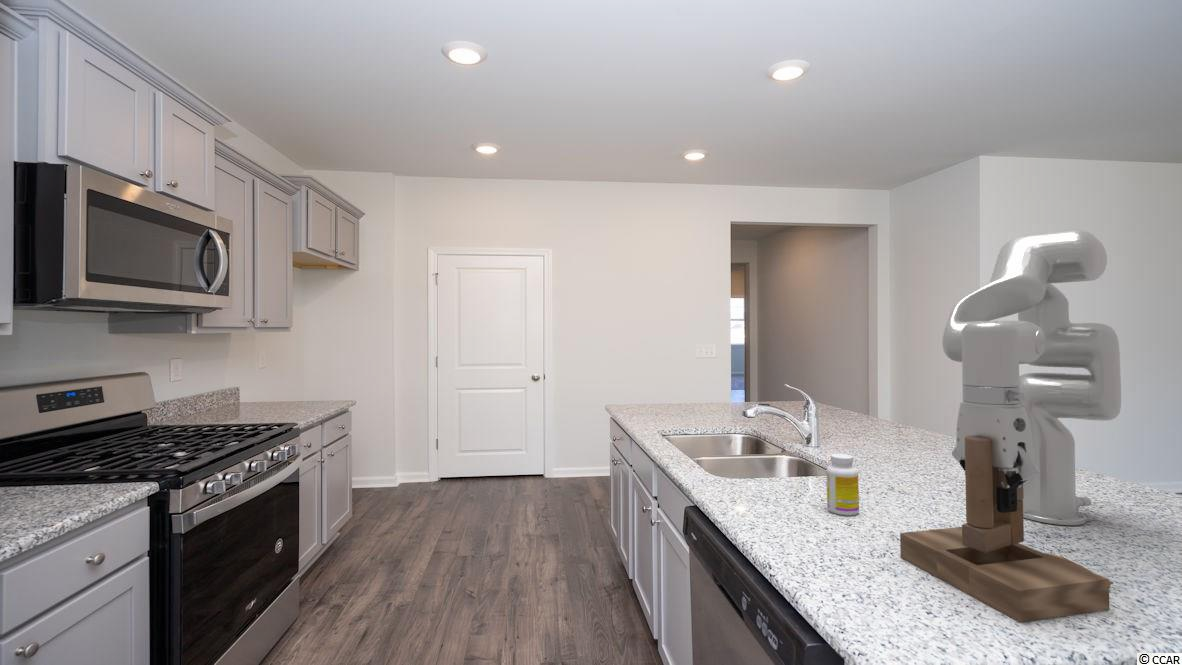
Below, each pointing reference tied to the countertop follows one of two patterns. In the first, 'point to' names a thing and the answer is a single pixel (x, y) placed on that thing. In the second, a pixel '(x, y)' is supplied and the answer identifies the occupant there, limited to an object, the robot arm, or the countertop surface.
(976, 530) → the wooden block
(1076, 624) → the countertop surface
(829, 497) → the supplement bottle
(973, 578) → the slotted crossbeam
